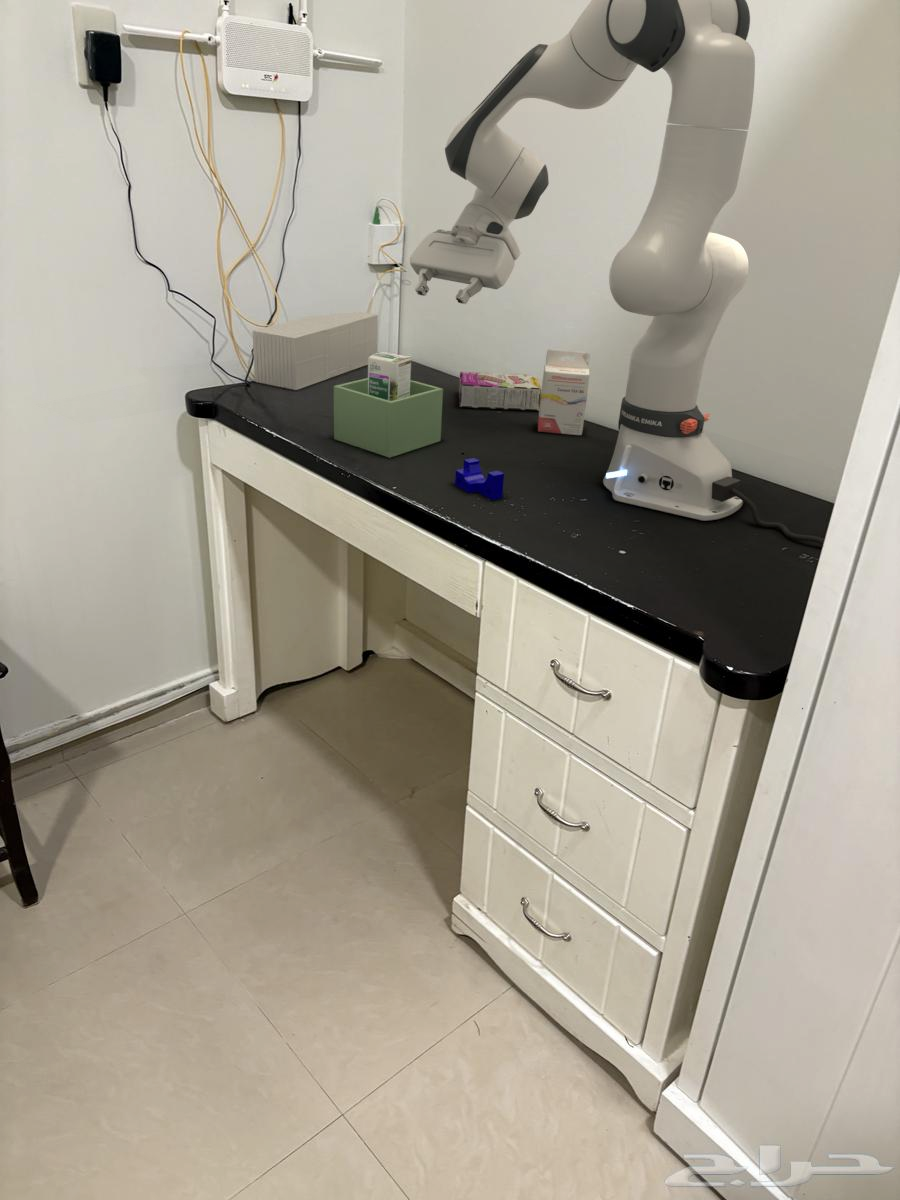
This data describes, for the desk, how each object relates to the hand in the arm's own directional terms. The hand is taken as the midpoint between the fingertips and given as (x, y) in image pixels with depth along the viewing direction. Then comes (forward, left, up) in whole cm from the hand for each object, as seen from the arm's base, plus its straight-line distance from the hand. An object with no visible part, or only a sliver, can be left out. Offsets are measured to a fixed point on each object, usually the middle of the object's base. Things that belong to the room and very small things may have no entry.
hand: (439, 297), depth 166 cm
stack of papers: (+38, -12, -18) cm, 44 cm away
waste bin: (0, +13, -24) cm, 27 cm away
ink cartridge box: (-18, -16, -24) cm, 34 cm away
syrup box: (0, +13, -23) cm, 27 cm away
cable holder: (-27, +21, -24) cm, 42 cm away
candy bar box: (+8, -17, -21) cm, 28 cm away
